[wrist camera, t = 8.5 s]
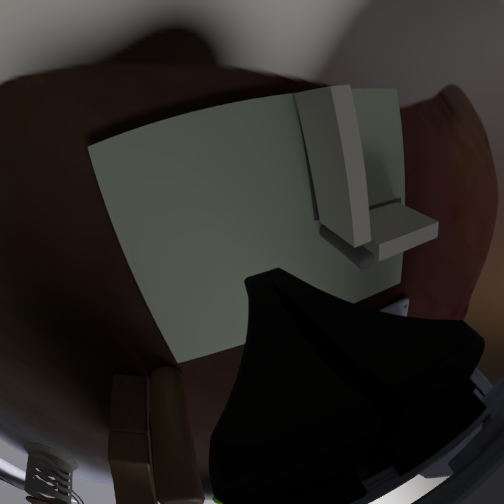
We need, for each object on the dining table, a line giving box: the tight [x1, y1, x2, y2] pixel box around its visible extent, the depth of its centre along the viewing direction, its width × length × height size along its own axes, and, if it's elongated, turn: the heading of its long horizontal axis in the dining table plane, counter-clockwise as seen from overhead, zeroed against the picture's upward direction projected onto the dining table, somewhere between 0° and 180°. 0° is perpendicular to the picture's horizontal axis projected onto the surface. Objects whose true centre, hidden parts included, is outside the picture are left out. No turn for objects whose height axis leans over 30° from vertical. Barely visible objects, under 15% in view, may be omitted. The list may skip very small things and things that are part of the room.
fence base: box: [319, 202, 439, 270], centre depth 19 cm, size 1×8×5 cm, turn 102°
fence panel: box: [294, 84, 371, 248], centre depth 16 cm, size 9×1×4 cm, turn 15°
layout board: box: [88, 88, 405, 363], centre depth 20 cm, size 18×22×1 cm
